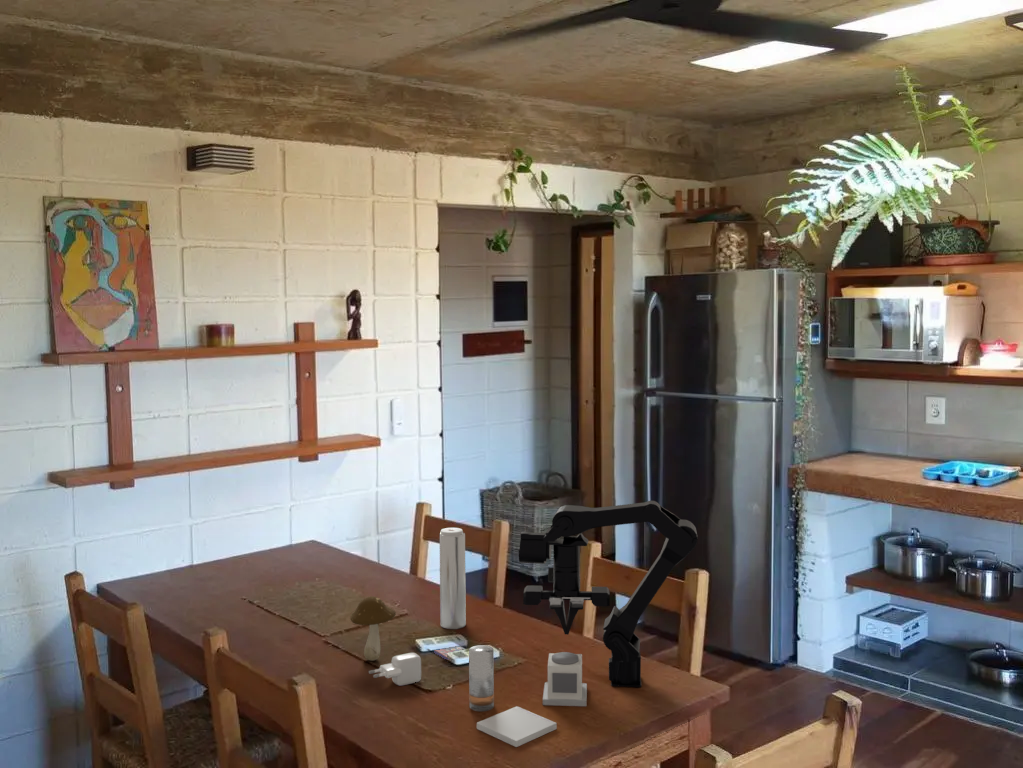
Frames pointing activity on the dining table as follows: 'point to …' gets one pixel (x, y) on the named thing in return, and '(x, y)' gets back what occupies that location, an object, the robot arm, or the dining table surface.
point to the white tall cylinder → (452, 578)
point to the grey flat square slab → (516, 726)
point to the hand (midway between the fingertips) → (566, 633)
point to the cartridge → (481, 678)
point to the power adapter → (401, 669)
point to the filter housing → (565, 680)
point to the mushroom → (372, 622)
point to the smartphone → (444, 651)
